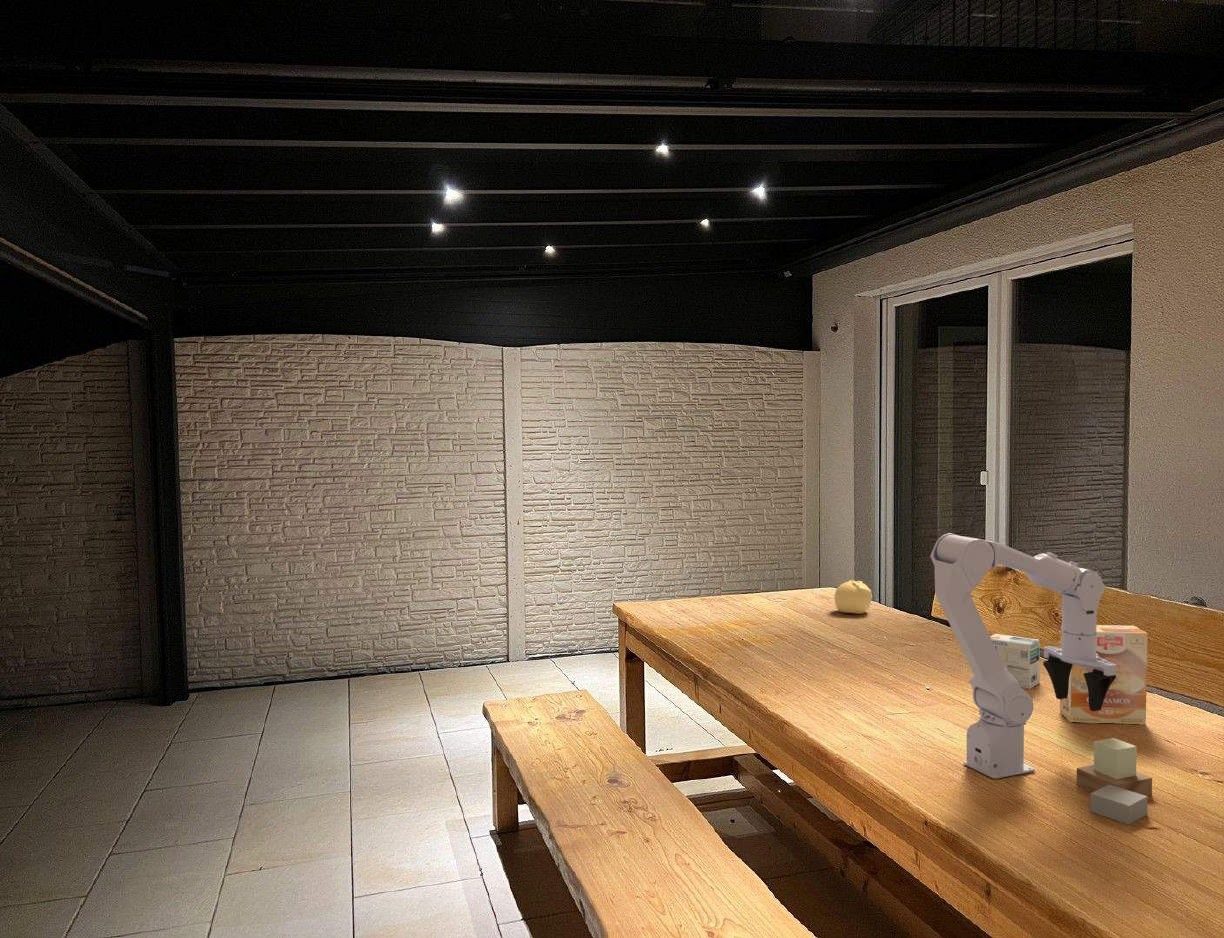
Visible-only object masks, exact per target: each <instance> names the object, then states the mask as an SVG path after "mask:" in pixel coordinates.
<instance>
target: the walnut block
mask: <svg viewBox="0 0 1224 938" xmlns="http://www.w3.org/2000/svg"><path fill="white" fill-rule="evenodd" d="M1078 785H1079V786H1078ZM1107 785H1113V786H1116V787H1119V788H1122V789H1126V790H1129V791H1132V792H1135V793H1138V794H1142V795H1145V796H1147V797H1150V796H1149V795H1151V796H1152V795H1153V777H1151V776H1148V775H1146V774H1144V773H1141V772H1139V771H1136V775H1135V776H1131V777H1126V778H1121V779H1114V778H1112V777H1110V776H1107V775H1105V774H1102V773H1100V772H1097V771H1095V770H1094V764H1091V765H1085V766H1081V767H1080V766H1079V767H1076V786H1078V787H1080V786H1081V787H1080V788H1083V789H1085V788H1086V789H1085V790H1087V789H1088V790H1087V791H1089V790H1090V791H1089V792H1091V793H1092V792H1095V791H1097V790H1099V789H1101V788H1103V787H1105V786H1107Z"/></svg>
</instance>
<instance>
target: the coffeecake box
mask: <svg viewBox="0 0 1224 938" xmlns="http://www.w3.org/2000/svg"><path fill="white" fill-rule="evenodd" d="M1060 648H1062V623H1061V624H1060ZM1096 654H1098V657H1100V658H1102V659H1104V660H1106V661H1108V662H1110V663H1113V664H1116V678H1115V680H1114V681H1113V682H1112V684H1111V685H1110V687H1109V689H1108V691H1107V693H1106V696H1105V698H1104V701H1103V705H1102V708H1101V710H1098V711H1091V710H1090V708H1089V694H1088V687H1087V683H1086V680H1085V677H1084V673H1088V672H1093V670H1090V669H1087V668H1084V667H1080V666H1077V665H1074V664H1073V665H1072V668H1071V672H1070V677H1069V688H1068V696H1067V698H1064V699H1059V713H1060V714H1061V715H1062V716H1063V715H1064V717H1066V718H1067V719H1066V718H1065V719H1066V720H1067V721H1068V722H1069V723H1070V722H1083V723H1082V724H1098V723H1120V724H1119V725H1132V724H1140V725H1139V726H1141V725H1142V726H1146V722H1147V719H1146V718H1147V685H1148V684H1147V681H1148V680H1147V677H1148V675H1147V674H1148V671H1147V670H1148V668H1147V667H1148V632H1146V631H1145V630H1144V629H1140V628H1139V627H1137V626H1135V625H1121V624H1120V625H1114V624H1113V625H1112V624H1107V625H1106V624H1097V629H1096ZM1085 722H1086V723H1085ZM1121 723H1123V724H1121Z"/></svg>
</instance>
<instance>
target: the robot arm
mask: <svg viewBox="0 0 1224 938" xmlns="http://www.w3.org/2000/svg"><path fill="white" fill-rule="evenodd" d="M929 557H930V559H931V561H932V563H933V567H934V591H935V592H934V593H935V596H936V599H937V600H938V603H939V605H940V606H941V609H942V611H943V613H944V616H945V617H946V619H947V621H948V623H949V626H950V627H951V630H952V632H953V633H954V635H955V638H956V640H957V642H958V645H959V647H960V648H961V650H962V652H963V655H964V656H965V659H966V661H967V663H968V665H969V667H970V669H971V672H972V673H973V675H972V676H971V677H970V680H969V683H970V686H971V688H972V699H973V703H974V705H975V706H976V707H977V708H978V709H979V715H980V718H979V720H978V721H977V722H975V723H974V722H973V723H972V724H970V725H969V727H968V728H967V730H966V760H964V761H963V765H965V766H966V767H969V768H971V769H973V770H975V771H978V772H979V773H981V774H983V775H986V777H987V776H988V777H989V778H992V779H995V780H996V779H1001V778H1006V777H1011V776H1016V775H1022V774H1028V773H1033V772H1036V769H1035V768H1034V767H1032V766H1031V765H1028V764H1026V763H1025V759H1024V757H1025V756H1024V754H1025V753H1024V752H1025V751H1024V749H1025V748H1024V746H1025V743H1024V742H1025V725H1027V721H1028V720H1029V719H1030V718H1031V716H1032V715H1033V711H1034V700H1033V698H1032V696H1031V695H1030V694H1029V692H1027V691H1025V690H1024V688H1023V687H1021V686H1020V684H1019V682H1018V681H1017V680H1016V679H1015V678H1014V677H1013V676H1012V675H1011V674H1010V673H1009V672H1008V671H1007V670H1006V669H1005V667H1004V665H1003V663H1002V661H1001V659H1000V657H999V655H998V652H997V650H996V648H995V646H994V644H993V642H992V640H991V638H990V636H991V635H990V634H989V631H988V629H987V627H986V625H985V623H984V621H983V619H982V617H981V614H980V612H979V610H978V608H977V607H976V604H975V602H974V600H973V598H972V592H973V591H975V589H976V588H977V587H978V585H979V584H980V583H981V581H982V580H983V579H984V577H985V576H986V575H987V574H988V572H989V571H990V569H991V568H994V569H996V568H997V567H999V565H1002V566H1003V567H1008V568H1011V569H1013V570H1017V571H1018V572H1023V573H1026V576H1027V579H1029V581H1030V582H1031V583H1032V584H1035V585H1038V586H1039V587H1040V586H1041V587H1042V588H1043V587H1044V588H1046V589H1049V590H1051V591H1054V592H1056V593H1058V594H1059V595H1060V596H1061V597H1062V598H1061V599H1062V600H1061V602H1062V603H1061V624H1062V648H1061V647H1057V646H1053V645H1050V646H1043V657H1044V658H1047V660H1043V661H1042V662H1043V663H1042V665H1043V666H1044V668H1045V670H1046V672H1047V674H1048V676H1049V678H1050V681H1051V684H1052V686H1053V691H1054V694H1055V698H1056V700H1060V699H1064V698H1067V696H1068V688H1069V677H1070V672H1071V668H1072V665H1073V664H1074V665H1077V666H1080V667H1084V668H1087V669H1090V670H1093V672H1088V673H1084V677H1085V680H1086V683H1087V687H1088V694H1089V708H1090V710H1091V711H1098V710H1101V708H1102V705H1103V701H1104V698H1105V696H1106V693H1107V691H1108V689H1109V687H1110V685H1111V684H1112V682H1113V681H1114V680H1115V678H1116V664H1113V663H1110V662H1108V661H1106V660H1104V659H1102V658H1100V657H1098V654H1096V629H1097V625H1098V624H1097V621H1098V620H1097V617H1098V616H1097V615H1098V611H1097V610H1099V607H1100V599H1101V598H1102V596H1103V595H1104V593H1105V589H1106V584H1104V583H1103V580H1102V578H1101V576H1100V575H1099V573H1098V572H1096V571H1095V570H1092V569H1087V568H1084V567H1083V568H1082V567H1079V564H1078V562H1074V561H1068V562H1067V561H1066V560H1062V559H1059V558H1058V554H1056V553H1053V552H1049V551H1047V552H1046V553H1039V554H1037V555H1034V556H1033V555H1029V554H1028V553H1027V554H1026V553H1025V552H1022V551H1020V550H1017V549H1015V548H1012V547H1010V546H1007V545H1005V544H1003V543H1000V542H995V541H991V540H988V539H987V540H986V539H980V538H975V537H970V536H961V535H958V534H955V533H950V532H949V533H945V534H943V535H941V536H940V537H939V538H938V539H937V540H936V542H935V544H934V545H933V549H932V550H931V554H930V556H929Z"/></svg>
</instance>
